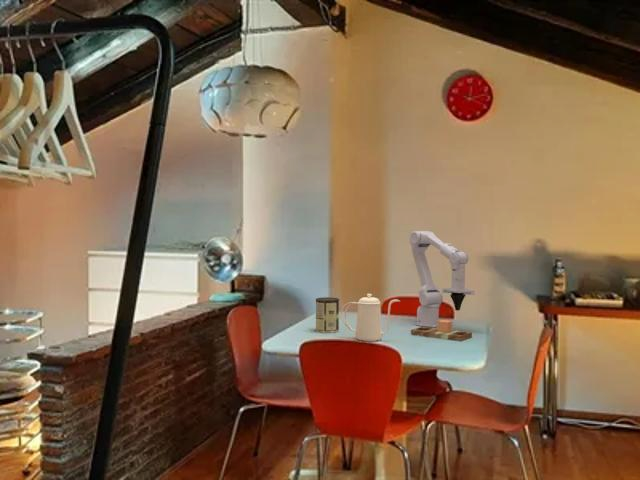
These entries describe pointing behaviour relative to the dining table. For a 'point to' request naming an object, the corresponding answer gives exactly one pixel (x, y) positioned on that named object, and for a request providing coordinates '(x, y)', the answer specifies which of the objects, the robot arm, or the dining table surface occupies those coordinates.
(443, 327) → the block
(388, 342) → the dining table surface
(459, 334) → the board
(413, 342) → the dining table surface
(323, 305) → the coffee can
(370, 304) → the coffeepot
